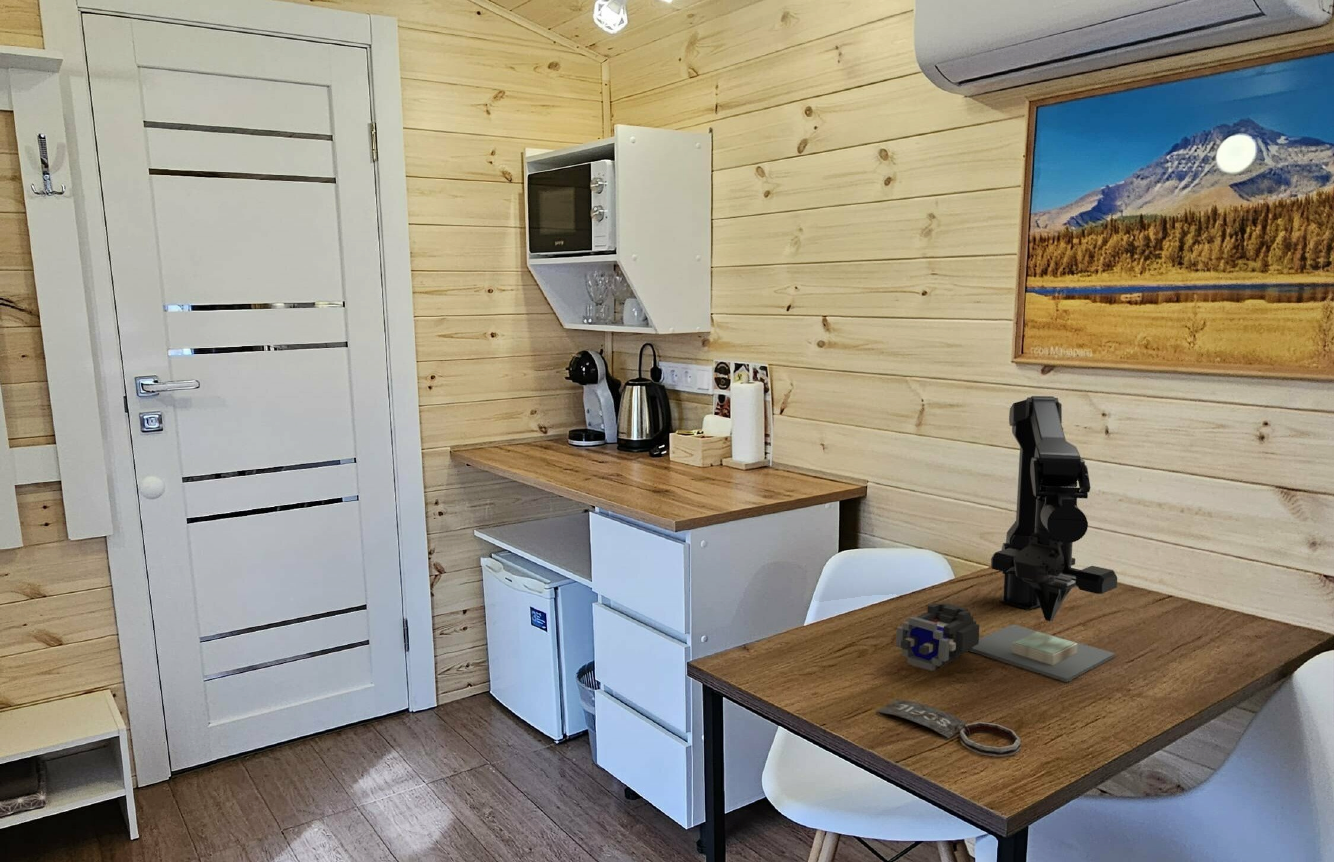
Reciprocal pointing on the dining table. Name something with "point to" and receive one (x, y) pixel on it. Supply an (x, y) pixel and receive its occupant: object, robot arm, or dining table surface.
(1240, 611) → the dining table surface
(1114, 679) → the dining table surface
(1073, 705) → the dining table surface
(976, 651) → the mat
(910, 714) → the keychain
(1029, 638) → the tile
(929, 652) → the toy
